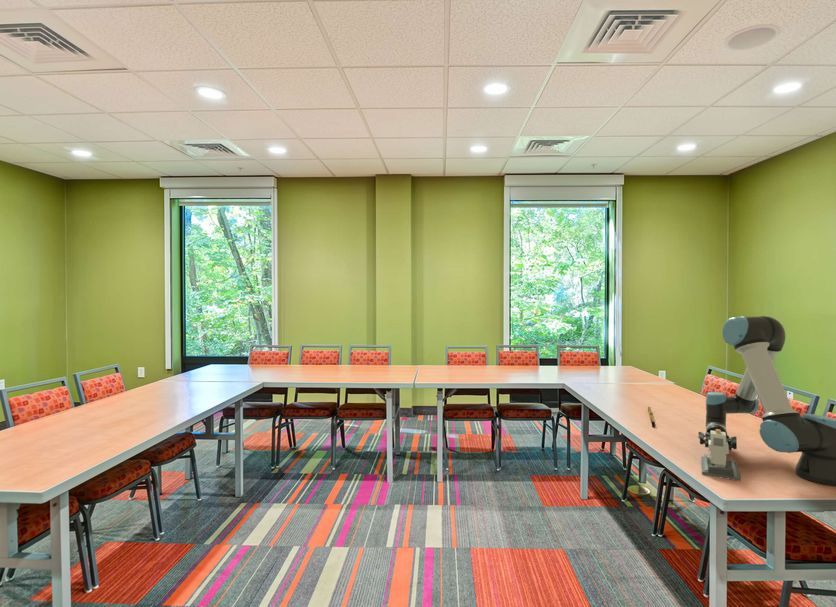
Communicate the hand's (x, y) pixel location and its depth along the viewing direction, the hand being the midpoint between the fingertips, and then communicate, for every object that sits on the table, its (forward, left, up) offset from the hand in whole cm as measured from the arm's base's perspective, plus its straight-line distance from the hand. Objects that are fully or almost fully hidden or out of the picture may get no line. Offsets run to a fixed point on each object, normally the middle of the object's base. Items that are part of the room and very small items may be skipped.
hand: (718, 449), depth 171 cm
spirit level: (+40, -63, -9) cm, 75 cm away
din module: (+1, -5, -7) cm, 9 cm away
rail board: (0, -3, -9) cm, 9 cm away
